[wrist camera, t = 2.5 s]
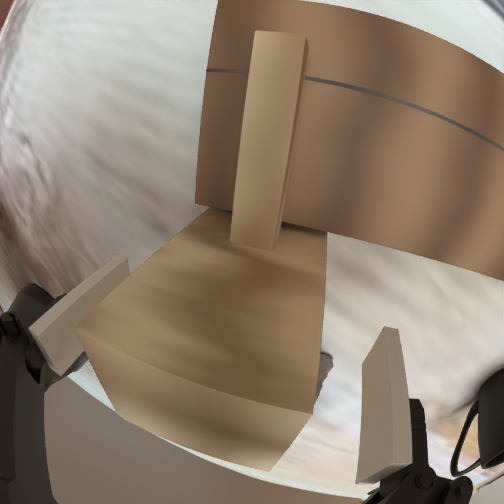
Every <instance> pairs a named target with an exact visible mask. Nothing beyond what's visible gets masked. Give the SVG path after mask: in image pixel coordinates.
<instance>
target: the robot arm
mask: <svg viewBox="0 0 504 504" xmlns="http://www.w3.org/2000/svg"><path fill="white" fill-rule="evenodd" d="M129 275H130V274H129V267H128V259H127V258H125V257H122V256H119V255H116V256H115V257H113V258H112V259H111V260H109V261H108V262H107V263H105V264H104V265H103V266H101V267H100V268H99V269H98V270H96V271H95V272H94V273H92V274H91V275H90V276H89V277H87V278H86V279H85V280H84V281H82V282H81V283H80V284H79V285H77V286H76V287H75V288H74V289H73V290H71V291H70V292H69V293H68V294H66V293H65V294H63V295H61V296H58V297H57V298H55V299H54V300H53V299H52V298H51V297H50V296H49V295H48V294H47V293H46V292H45V291H43V290H42V289H41V288H39V287H38V286H36V285H33V284H29V285H27V286H26V287H25V288H23V289H22V290H21V291H20V292H19V293H18V294H17V297H16V299H15V300H14V302H13V303H12V305H11V306H10V308H9V310H8V311H7V312H5V313H3V314H2V315H1V316H0V504H58V503H57V502H56V500H55V499H54V497H53V495H52V491H51V485H50V480H49V473H48V466H47V457H46V447H45V432H44V393H45V392H46V391H47V389H48V388H49V387H50V386H51V385H52V384H54V383H56V382H57V381H59V380H61V379H62V378H64V377H66V376H67V375H69V374H70V373H72V372H75V371H78V370H79V369H80V368H81V367H82V366H83V365H84V364H85V362H86V361H87V360H88V356H87V354H86V352H85V350H84V347H83V345H82V343H81V340H80V338H79V336H78V333H77V331H76V328H75V327H76V326H77V325H78V324H79V323H80V322H81V321H82V320H83V319H84V318H85V317H86V316H87V315H88V314H89V313H90V312H91V311H92V310H93V309H94V308H95V307H96V306H97V305H98V304H99V303H100V302H101V301H102V300H103V299H104V298H106V297H107V296H108V295H109V294H110V293H111V292H112V291H113V290H114V289H115V288H116V287H117V286H118V285H119V284H121V283H122V282H123V281H124V280H125V279H126V278H127V277H128V276H129ZM379 481H380V487H379V488H376V489H374V490H372V491H370V492H369V493H367V494H368V495H370V494H371V495H370V496H369V497H368V498H367V499H366V500H365V501H364V502H363V503H362V504H469V501H470V498H471V495H472V492H473V483H472V481H471V479H470V478H468V477H467V476H460V477H458V478H456V479H454V480H451V479H447V478H443V477H439V476H437V475H436V473H435V471H434V470H433V469H432V468H431V467H429V463H428V448H427V433H426V423H425V413H424V408H423V406H422V404H421V402H420V400H419V399H410V398H409V396H408V387H407V379H406V372H405V366H404V359H403V353H402V347H401V342H400V337H399V332H398V329H394V328H389V327H383V329H382V331H381V333H380V335H379V336H378V338H377V340H376V342H375V343H374V345H373V347H372V348H371V350H370V352H369V354H368V355H367V357H366V358H365V360H364V362H363V363H362V413H361V433H360V447H359V458H358V468H357V476H356V484H375V483H377V482H379Z"/></svg>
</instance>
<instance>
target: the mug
mask: <svg viewBox="0 0 504 504" xmlns="http://www.w3.org/2000/svg"><path fill="white" fill-rule="evenodd" d="M477 414H478V445H479V453H480V458H479V459H478V460H477V461H476V462H475V463H474V464H473V465H471V466H470V467H468V468H467V469H465V470H463V471H461V472H459V471H458V468H457V465H458V459H459V455H460V452H461V449H462V446H463V443H464V440H465V437H466V435H467V432H468V429H469V427H470V425H471V423H472V421H473V419H474V417H475V416H476V415H477ZM503 462H504V369H502V370H500V371H498V372H497V373H495V374H494V375H493V376H491V377H490V378H489V379H488V380H487V381H486V382H485V383H484V384H483V385H482V387H481V388H480V391H479V400H477V401H476V402H475V403H474V404H473V405H472V407H471V409H470V411H469V413H468V416H467V418H466V421H465V424H464V426H463V429H462V432H461V435H460V438H459V440H458V443H457V445H456V448H455V451H454V453H453V456H452V460H451V465H450V471H451V475H452V476H453V477H458V476H461V475H464V474H466V473H468V472H470V471H472V470H473V469H475V468H476V467H478V466H479V465H481V467H482V469H487V468H491V467H494V466H496V465H499V464H501V463H503Z"/></svg>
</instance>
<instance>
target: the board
mask: <svg viewBox="0 0 504 504" xmlns="http://www.w3.org/2000/svg"><path fill="white" fill-rule="evenodd" d="M255 31H273V32H285V33H295V34H303V35H306V38H307V42H308V46H309V51H308V59H307V66H306V73H305V81H304V88H303V94H302V101H301V108H300V115H299V121H298V128H297V134H296V140H295V147H294V153H293V159H292V165H291V171H290V177H289V183H288V189H287V194H286V200H285V206H284V212H283V217H282V221H283V222H287V223H292V224H296V225H300V226H305V227H309V228H313V229H318V230H322V231H326V232H330V233H334V234H339V235H343V236H347V237H351V238H355V239H359V240H363V241H367V242H371V243H374V244H378V245H382V246H386V247H390V248H394V249H397V250H401V251H405V252H408V253H412V254H416V255H419V256H423V257H426V258H430V259H433V260H437V261H440V262H444V263H447V264H450V265H454V266H457V267H461V268H464V269H467V270H470V271H474V272H477V273H480V274H483V275H486V276H489V277H493V278H496V279H499V280H502V281H504V74H503V73H502V72H500V71H499V70H497V69H496V68H494V67H493V66H491V65H490V64H488V63H486V62H485V61H483V60H481V59H480V58H478V57H476V56H475V55H473V54H471V53H469V52H467V51H465V50H464V49H462V48H460V47H458V46H456V45H454V44H452V43H450V42H448V41H446V40H443V39H441V38H439V37H437V36H435V35H432V34H430V33H428V32H425V31H423V30H420V29H418V28H415V27H412V26H410V25H407V24H404V23H401V22H398V21H395V20H392V19H389V18H386V17H382V16H379V15H375V14H371V13H368V12H364V11H359V10H355V9H351V8H346V7H341V6H335V5H330V4H323V3H316V2H309V1H299V0H218V4H217V9H216V15H215V20H214V26H213V32H212V38H211V45H210V51H209V58H208V65H207V70H206V72H207V73H206V80H205V88H204V97H203V106H202V115H201V126H200V137H199V149H198V162H197V177H196V194H195V204H200V205H205V206H210V207H215V208H220V209H225V210H230V211H233V203H234V193H235V184H236V175H237V166H238V157H239V149H240V140H241V132H242V124H243V116H244V108H245V100H246V92H247V85H248V77H249V70H250V63H251V56H252V49H253V42H254V35H255Z"/></svg>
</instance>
